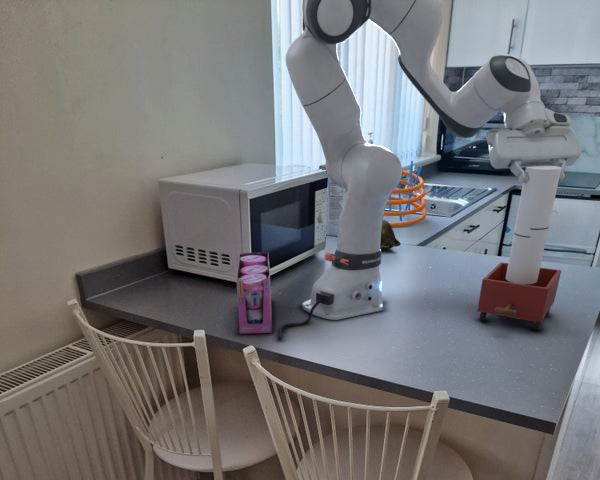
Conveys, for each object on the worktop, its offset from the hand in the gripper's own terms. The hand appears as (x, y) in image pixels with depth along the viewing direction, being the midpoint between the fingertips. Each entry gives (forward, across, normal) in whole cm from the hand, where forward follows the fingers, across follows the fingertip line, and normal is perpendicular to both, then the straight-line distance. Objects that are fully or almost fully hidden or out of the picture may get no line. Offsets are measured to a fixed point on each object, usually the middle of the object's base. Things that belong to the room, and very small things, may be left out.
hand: (542, 180), depth 117 cm
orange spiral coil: (-63, +6, +110) cm, 127 cm away
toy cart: (+24, -2, +22) cm, 32 cm away
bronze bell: (-28, -14, +74) cm, 80 cm away
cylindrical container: (+16, 0, +16) cm, 23 cm away
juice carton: (-48, -24, +94) cm, 108 cm away
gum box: (+13, -63, +33) cm, 73 cm away
